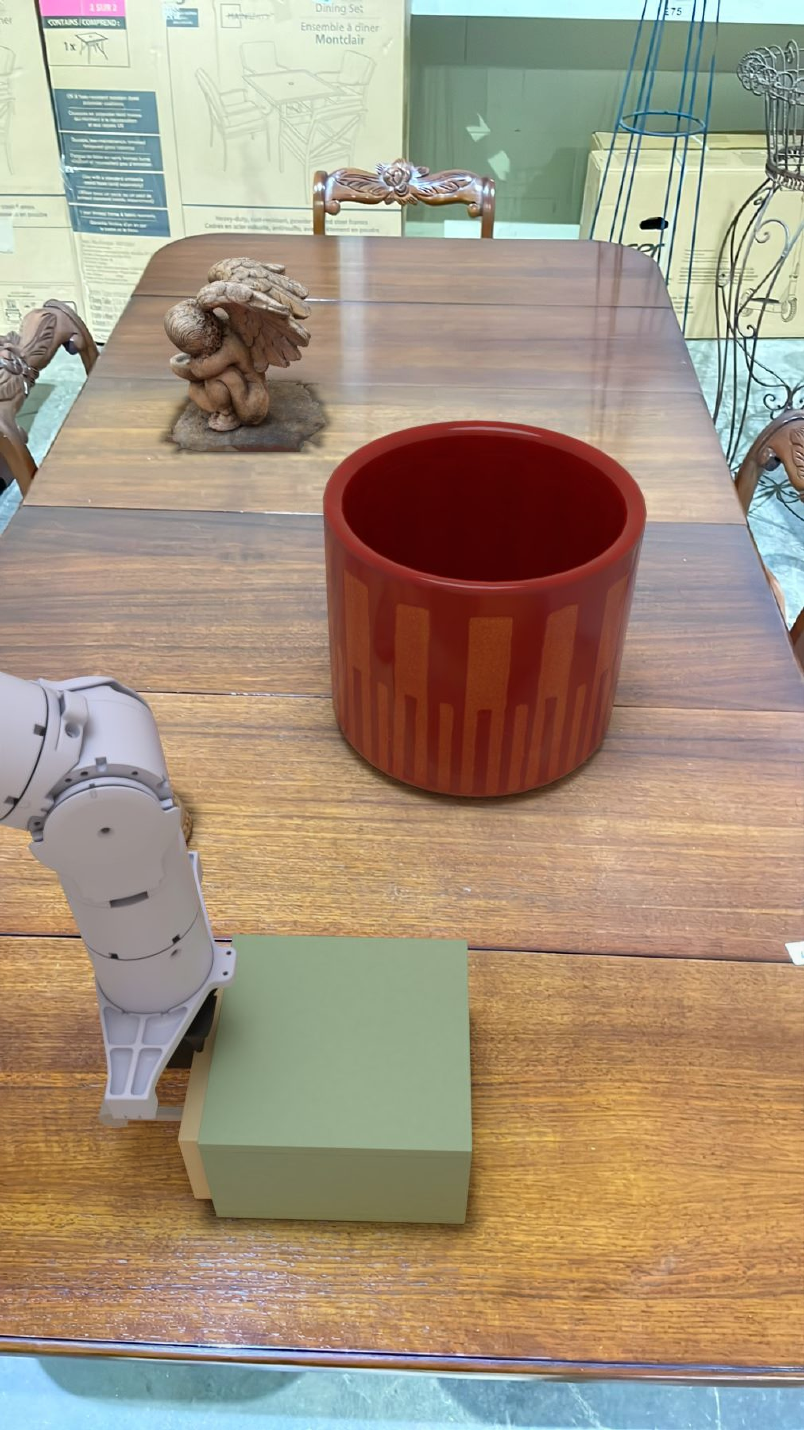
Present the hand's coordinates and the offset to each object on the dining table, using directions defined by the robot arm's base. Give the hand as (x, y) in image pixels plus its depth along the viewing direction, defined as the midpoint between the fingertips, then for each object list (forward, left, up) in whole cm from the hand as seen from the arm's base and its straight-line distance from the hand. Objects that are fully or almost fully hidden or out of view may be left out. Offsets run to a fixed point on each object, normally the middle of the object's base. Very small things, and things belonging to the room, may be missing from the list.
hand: (185, 1056), depth 60 cm
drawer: (+5, 0, -4) cm, 6 cm away
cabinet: (+9, 0, -5) cm, 10 cm away
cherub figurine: (-8, +87, -6) cm, 87 cm away
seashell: (-8, +21, -6) cm, 23 cm away
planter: (+17, +36, -6) cm, 40 cm away
